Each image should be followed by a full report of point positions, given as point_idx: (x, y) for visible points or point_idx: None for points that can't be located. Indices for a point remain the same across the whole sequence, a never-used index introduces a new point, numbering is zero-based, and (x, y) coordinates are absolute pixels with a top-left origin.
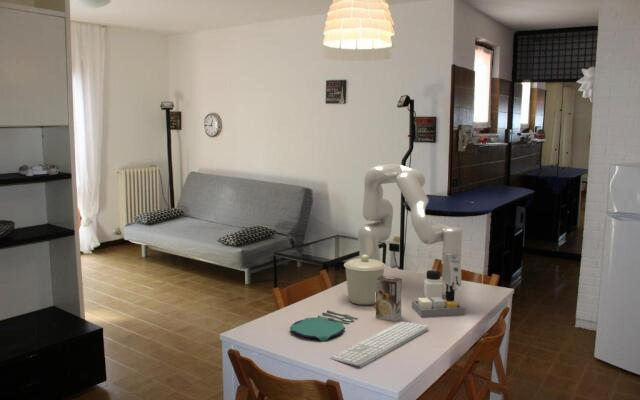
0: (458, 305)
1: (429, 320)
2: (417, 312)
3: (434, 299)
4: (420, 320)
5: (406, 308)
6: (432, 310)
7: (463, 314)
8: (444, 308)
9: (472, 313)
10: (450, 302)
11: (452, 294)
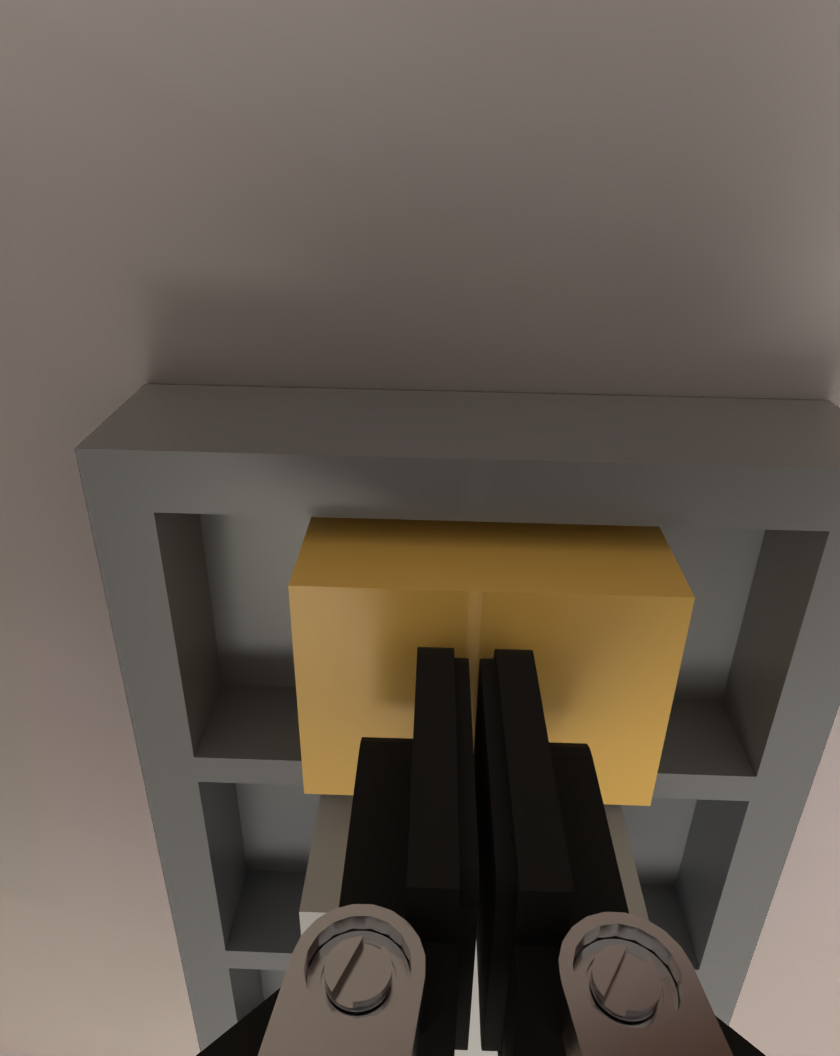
0: (665, 523)
1: (812, 966)
2: None
3: (470, 1041)
4: (763, 1040)
5: None
6: (726, 1009)
7: (832, 411)
8: (747, 857)
9: (802, 111)
10: (600, 741)
11: (613, 880)
